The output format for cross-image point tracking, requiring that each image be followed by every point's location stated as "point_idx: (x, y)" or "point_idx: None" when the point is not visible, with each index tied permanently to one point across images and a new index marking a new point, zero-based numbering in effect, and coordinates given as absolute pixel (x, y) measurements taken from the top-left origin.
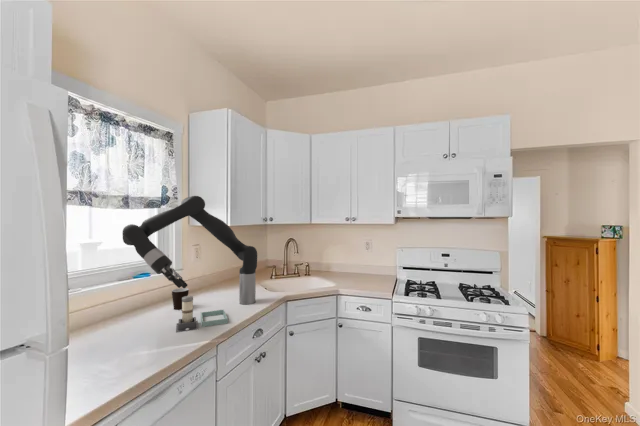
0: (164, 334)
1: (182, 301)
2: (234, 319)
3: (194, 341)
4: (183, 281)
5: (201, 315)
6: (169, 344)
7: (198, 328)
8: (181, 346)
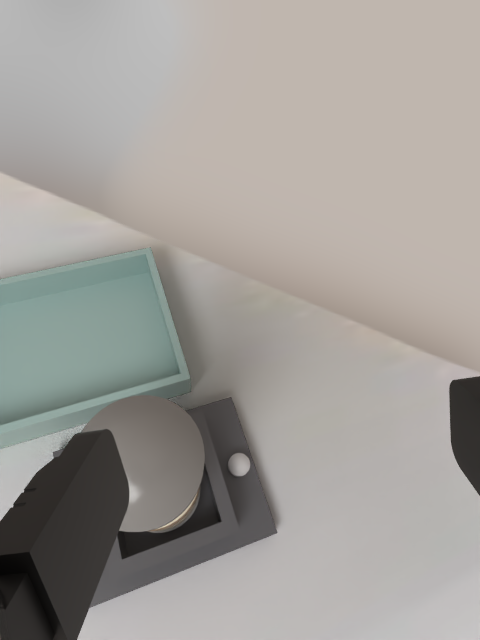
0: (258, 630)
1: (182, 512)
2: (63, 247)
3: (368, 385)
4: (66, 507)
5: (31, 421)
6: (414, 513)
7: (219, 401)
8: (431, 432)
